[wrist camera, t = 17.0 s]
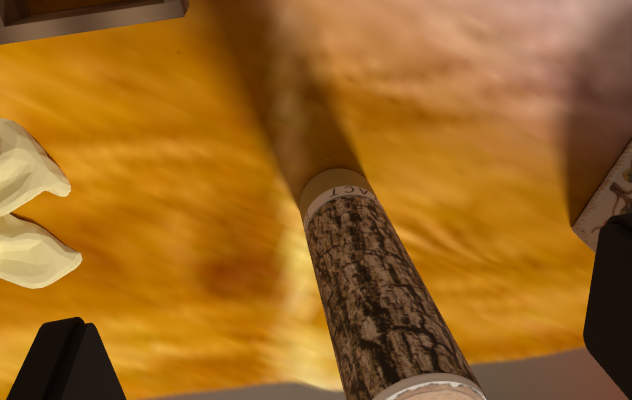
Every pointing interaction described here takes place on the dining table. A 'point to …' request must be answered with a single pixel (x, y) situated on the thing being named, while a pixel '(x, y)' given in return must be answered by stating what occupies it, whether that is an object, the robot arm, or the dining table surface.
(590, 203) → the decorative jar
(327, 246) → the bark textured cylinder
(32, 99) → the dining table surface
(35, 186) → the cloth
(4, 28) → the holder
